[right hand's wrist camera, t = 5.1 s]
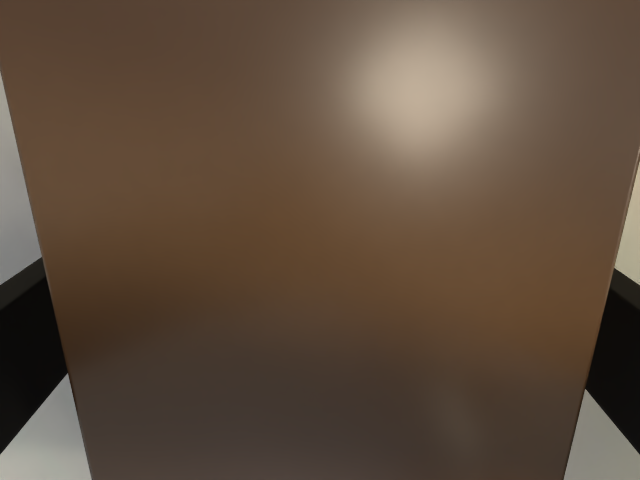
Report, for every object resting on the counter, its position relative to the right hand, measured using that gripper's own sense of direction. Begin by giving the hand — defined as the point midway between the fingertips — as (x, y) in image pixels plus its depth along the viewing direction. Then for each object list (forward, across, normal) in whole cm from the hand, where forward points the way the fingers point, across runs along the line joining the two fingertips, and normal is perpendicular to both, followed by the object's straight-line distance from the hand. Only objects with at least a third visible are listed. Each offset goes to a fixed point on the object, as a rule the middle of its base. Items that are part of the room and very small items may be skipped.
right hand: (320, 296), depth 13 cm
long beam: (+3, 0, -31) cm, 31 cm away
